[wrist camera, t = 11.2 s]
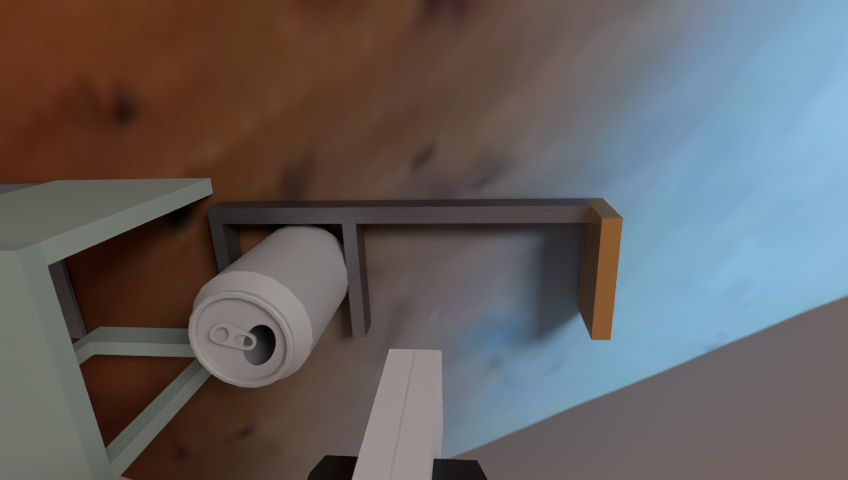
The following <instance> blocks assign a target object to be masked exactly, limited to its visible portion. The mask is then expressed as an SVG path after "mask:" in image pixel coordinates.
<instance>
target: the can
mask: <svg viewBox="0 0 848 480" xmlns="http://www.w3.org/2000/svg"><path fill="white" fill-rule="evenodd" d="M347 292H348V280H347V270H346V260H345V249H344V246H343V245H342V244H341V243H340V242H339V240H338V239H337V238H336V237H335V236H334V235H332V234H331V233H329V232H328V231H326V230H325V229H323V228H320V227H317V226H314V225H311V224H290V225H287V226H284V227H281V228H279V229H278V230H276V231H275V232H274V233H272V234H271V235H270V236H268V237H267V238H266V239H264V240H263V241H262V242H260V243H259V244H258V245H256V246H255V247H254V248H252V249H251V250H250V251H249V252H247V253H246V254H245V255H243V256H242V257H241V258H239V259H238V260H237V261H235V262H234V263H233V264H231V265H230V266H229V267H227V268H226V269H225V270H223V271H222V272H221V273H219V274H218V275H217V276H216V277H214V278H213V279H212V280H210V281H209V282H208V283H207V284H205V285H204V286H203V287H202V288H201V290H200V292H199V293H198V295H197V297H196V299H195V301H194V304H193V312H192V315H191V316H190V319H189V326H188V336H189V341H190V345H191V348H192V350H193V352H194V354H195V355H196V357H197V359H198V361H199V362H200V363H201V364H202V365H203V366H204V367H205V368H206V369H207V370H208V371H209V372H210V373H211V374H213V375H214V376H216V377H217V378H219V379H221V380H222V381H224V382H226V383H229V384H233V385H236V386H239V387H251V388H257V387H261V386H265V385H269V384H272V383H273V382H275V381H276V380H279V379H283V378H286V377H288V376H289V375H291V374H292V373H294V372H295V371H297V370H298V369H300V367H301V366H302V365H303V363H304V362H305V360H306V359H307V357H308V356H309V354H310V353H311V351H312V350H313V348H314V346H315V345H316V343H317V341H318V340H319V338H320V336H321V335H322V333H323V331H324V330H325V328H326V327H327V325H328V323H329V322H330V320H331V318H332V317H333V315H334V313H335V312H336V310H337V309H338V307H339V305H340V304H341V302H342V300H343V299H344V297H345V295H346V294H347Z"/></svg>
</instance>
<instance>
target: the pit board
mask: <svg viewBox="0 0 848 480" xmlns="http://www.w3.org/2000/svg"><path fill="white" fill-rule="evenodd" d="M37 185H41V183H16V184H0V194H4V193H8V192H12V191H16V190H20V189H24V188H28V187H33V186H37ZM48 269H49V273H50V276H51V279H52V282H53V285H54V288H55V292H56V295H57V298H58V301H59V304H60V307H61V311H62V314H63V317H64V320H65V323H66V326H67V330H68V333H69V336H70V338H83V337H85V336H86V335H87V333H86V330H85V326H84V323H83V320H82V316H81V313H80V310H79V306H78V303H77V300H76V296H75V293H74V290H73V286H72V283H71V280H70V277H69V273H68V270H67V267H66V263H65V260H64V259H61V260H59V261H57V262H55V263H52V264H50V265H48Z"/></svg>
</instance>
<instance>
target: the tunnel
mask: <svg viewBox="0 0 848 480" xmlns="http://www.w3.org/2000/svg"><path fill="white" fill-rule="evenodd" d="M210 194H213V191H212V185H211V180H210V178H183V179H117V180H57V181H53V182H49V183H45V184H41V185H37V186H33V187H28V188H24V189H20V190H16V191H12V192H8V193H4V194H0V480H117V479H118V478H119V477H120V475H121V474H122V473H123V472H124V471H125V470H126V469H127V468H128V467H129V465H130V464H131V463H132V462H133V461H134V460H135V459H136V458H137V457H138V455H139V454H140V453H141V452H142V451H143V450H144V449H145V448H146V447H147V445H148V444H149V443H150V442H151V441H152V440H153V439H154V438H155V437H156V435H157V434H158V433H159V432H160V431H161V430H162V429H163V428H164V427H165V425H166V424H167V423H168V422H169V421H170V420H171V419H172V418H173V417H174V415H175V414H176V413H177V412H178V411H179V410H180V409H181V408H182V407H183V405H184V404H185V403H186V402H187V401H188V400H189V399H190V398H191V397H192V395H193V394H194V393H195V392H196V391H197V390H198V389H199V388H200V387H201V385H202V384H203V383H204V382H205V381H206V380H207V379H208V378H209V377H210V375H211V373H210V372H209V371H208V370H207V369H206V368H205V367H204V366H203V365H202V364H201V363H200V362H199V361H198V359H197V358H196V359H195V360H194V361H193V362H192V363H191V364H190V365H189V366H188V367H187V368H186V369H185V370H184V371H183V372H182V373H181V374H180V375H179V376H178V377H177V378H176V379H175V380H174V381H173V382H172V383H171V384H170V385H169V386H168V387H167V388H166V389H165V390H164V391H163V392H162V393H161V394H160V395H159V396H158V397H157V398H156V399H155V400H154V401H153V402H152V403H151V404H150V405H149V406H148V407H147V408H146V409H145V410H144V411H143V412H142V413H141V414H140V415H139V416H138V417H137V418H136V419H135V420H134V421H133V422H132V423H131V424H130V425H129V426H128V427H126V428H125V429H124V430H123V431H122V432H121V433H120V434H119V435H118V436H117V437H116V438H115V439H114V440H113V441H112V442H111V443H110V444H109V445H108V446H107V447H106V448H105V447H104V444H103V440H102V437H101V434H100V431H99V428H98V425H97V421H96V418H95V415H94V412H93V409H92V406H91V402H90V399H89V396H88V393H87V390H86V387H85V383H84V380H83V377H82V374H81V371H80V368H79V365H80V364H81V363H83V362H84V361H85V360H87V359H88V358H90V357H91V356H92V355H94V354H105V355H137V356H169V357H196V355H195V354H194V352H193V350H192V348H191V345H190V341H189V336H188V329H178V328H137V327H99V328H97V329H95V330H94V331H92V332H91V333H89V334H88V335H86V336H85V337H83V338H82V339H80V340H79V341H77V342H76V343H74V344H73V345H72V342H71V339H70V336H69V333H68V330H67V326H66V323H65V320H64V317H63V314H62V311H61V307H60V304H59V301H58V298H57V295H56V292H55V288H54V285H53V282H52V279H51V276H50V273H49V269H48V265H50V264H52V263H55V262H57V261H59V260H61V259H64V258H66V257H68V256H71V255H73V254H75V253H77V252H80V251H82V250H84V249H87V248H89V247H91V246H94V245H96V244H98V243H100V242H103V241H105V240H107V239H110V238H112V237H114V236H116V235H119V234H121V233H123V232H126V231H128V230H130V229H132V228H135V227H137V226H139V225H142V224H144V223H146V222H148V221H151V220H153V219H155V218H158V217H160V216H162V215H165V214H167V213H169V212H171V211H174V210H176V209H178V208H181V207H183V206H185V205H187V204H190V203H192V202H194V201H197V200H199V199H201V198H203V197H206V196H208V195H210Z"/></svg>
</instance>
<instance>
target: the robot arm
mask: <svg viewBox="0 0 848 480" xmlns="http://www.w3.org/2000/svg"><path fill="white" fill-rule="evenodd" d="M442 432H443V413H442V364H441V350H410V349H389V353H388V356H387V359H386V363H385V366H384V370H383V373H382V377H381V380H380V384H379V387H378V391H377V394H376V398H375V401H374V405H373V408H372V412H371V415H370V418H369V422H368V425H367V429H366V432H365V436H364V439H363V443H362V446H361V450H360V453H359V457H354V456H331V455H326V456H325V457H324V458H323V459H322V460H321V461H320V462H319V463H318V464H317V465H316V466H315V468H314V469H313V470H312V471H311V472H310V474H309V476H308V479H307V480H487V478H486V476H485V474H484V472H483V471H482V469H481V467H480V465H479V463H478V461H477V460H455V459H441V446H442Z"/></svg>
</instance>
